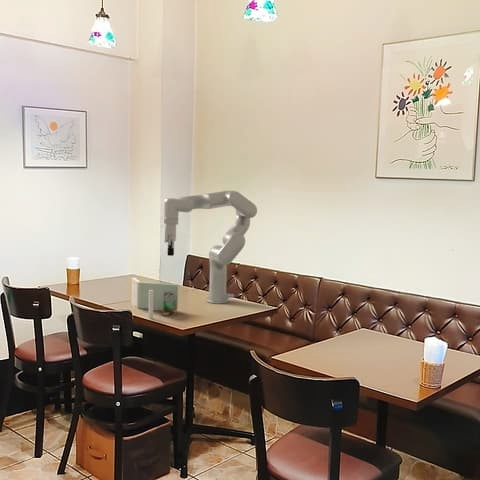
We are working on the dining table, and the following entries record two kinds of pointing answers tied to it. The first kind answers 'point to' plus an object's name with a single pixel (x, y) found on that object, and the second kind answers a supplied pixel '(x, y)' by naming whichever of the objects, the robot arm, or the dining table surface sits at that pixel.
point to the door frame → (137, 297)
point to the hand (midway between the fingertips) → (170, 255)
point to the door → (157, 294)
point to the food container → (168, 303)
